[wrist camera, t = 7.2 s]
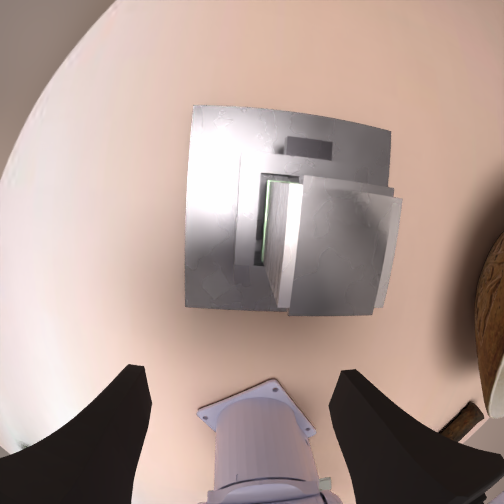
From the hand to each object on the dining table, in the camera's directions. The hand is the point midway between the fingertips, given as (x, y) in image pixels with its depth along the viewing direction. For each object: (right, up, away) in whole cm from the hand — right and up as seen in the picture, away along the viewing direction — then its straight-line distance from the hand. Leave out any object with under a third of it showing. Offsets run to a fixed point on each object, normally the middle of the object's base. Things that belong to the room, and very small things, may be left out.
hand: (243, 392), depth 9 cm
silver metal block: (+3, +7, +5) cm, 9 cm away
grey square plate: (+3, +8, +9) cm, 12 cm away
